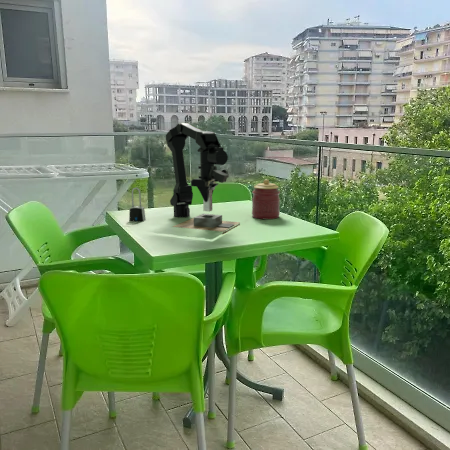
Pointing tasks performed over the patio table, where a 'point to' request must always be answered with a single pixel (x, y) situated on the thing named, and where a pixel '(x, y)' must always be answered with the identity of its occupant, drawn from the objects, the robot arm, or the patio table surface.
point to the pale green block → (208, 205)
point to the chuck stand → (208, 223)
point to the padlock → (136, 210)
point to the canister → (265, 201)
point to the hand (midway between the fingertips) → (207, 201)
